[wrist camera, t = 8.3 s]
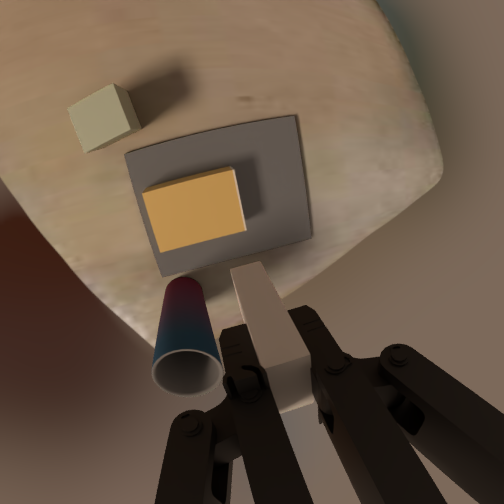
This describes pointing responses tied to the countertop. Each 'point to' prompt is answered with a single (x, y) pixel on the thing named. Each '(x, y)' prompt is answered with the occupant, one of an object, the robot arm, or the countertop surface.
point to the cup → (186, 343)
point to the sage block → (104, 118)
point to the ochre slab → (195, 208)
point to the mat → (249, 185)
